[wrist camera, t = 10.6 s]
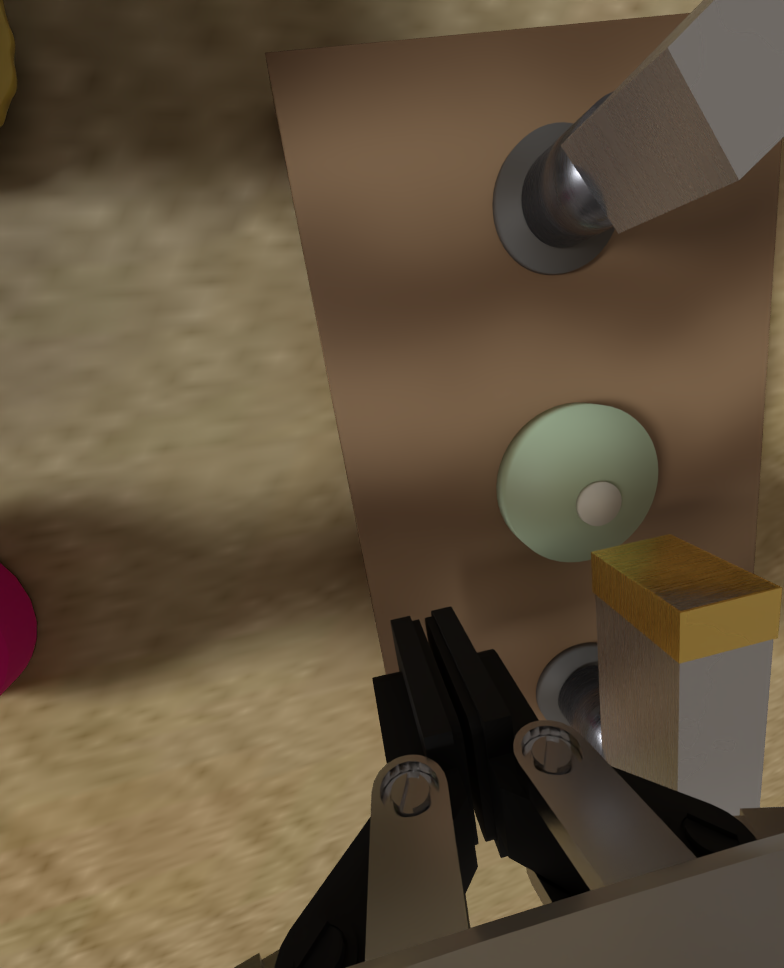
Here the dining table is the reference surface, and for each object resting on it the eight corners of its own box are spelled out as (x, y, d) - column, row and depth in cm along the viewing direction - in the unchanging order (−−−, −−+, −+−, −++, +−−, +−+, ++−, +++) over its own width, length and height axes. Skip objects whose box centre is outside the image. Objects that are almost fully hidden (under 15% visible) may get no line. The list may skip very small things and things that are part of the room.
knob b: (620, 713, 17) (759, 873, 11) (560, 729, 17) (673, 901, 11) (614, 506, 15) (784, 587, 9) (544, 521, 14) (677, 613, 9)
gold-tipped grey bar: (557, 267, 12) (735, 193, 7) (503, 192, 12) (656, 48, 6) (787, 38, 12) (1167, -228, 7) (744, -55, 11) (1131, -436, 6)
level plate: (273, 100, 13) (259, 21, 10) (726, 53, 14) (831, -28, 11) (405, 771, 19) (420, 843, 16) (704, 691, 21) (766, 743, 18)
